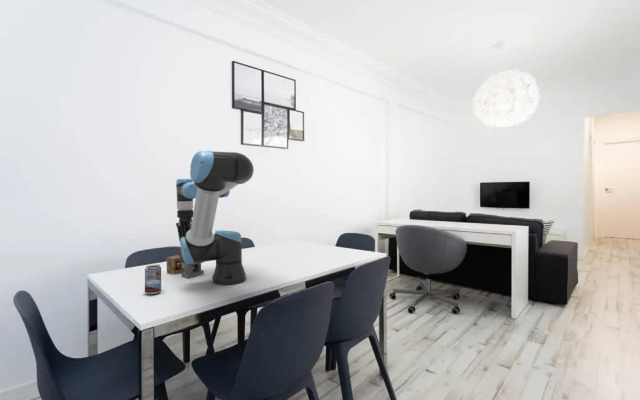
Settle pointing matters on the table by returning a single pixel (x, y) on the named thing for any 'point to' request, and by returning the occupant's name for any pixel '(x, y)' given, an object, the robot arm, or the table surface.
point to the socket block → (173, 265)
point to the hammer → (178, 264)
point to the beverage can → (152, 279)
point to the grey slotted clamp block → (189, 270)
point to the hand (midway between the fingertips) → (186, 256)
